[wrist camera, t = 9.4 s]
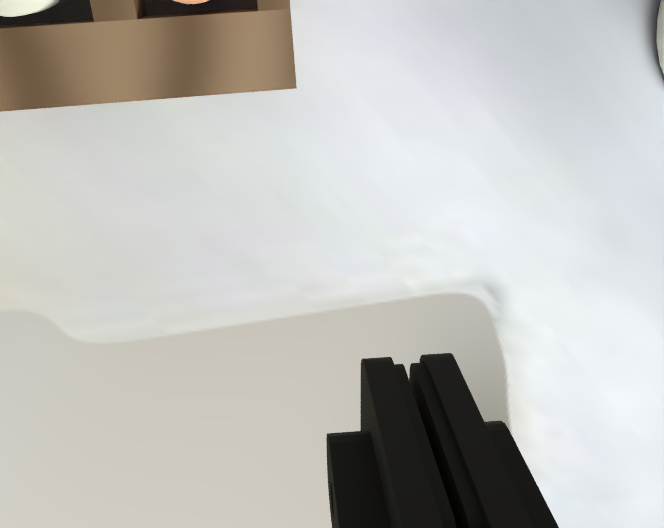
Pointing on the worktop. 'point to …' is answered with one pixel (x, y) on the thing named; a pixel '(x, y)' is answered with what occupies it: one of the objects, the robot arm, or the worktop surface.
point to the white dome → (24, 6)
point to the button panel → (145, 55)
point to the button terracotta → (191, 1)
